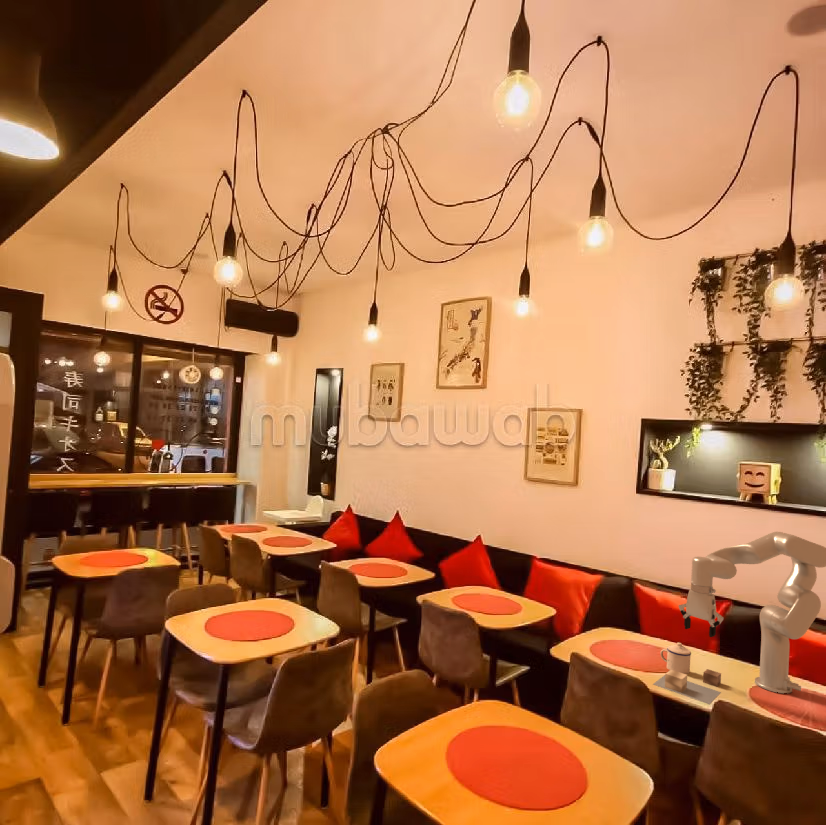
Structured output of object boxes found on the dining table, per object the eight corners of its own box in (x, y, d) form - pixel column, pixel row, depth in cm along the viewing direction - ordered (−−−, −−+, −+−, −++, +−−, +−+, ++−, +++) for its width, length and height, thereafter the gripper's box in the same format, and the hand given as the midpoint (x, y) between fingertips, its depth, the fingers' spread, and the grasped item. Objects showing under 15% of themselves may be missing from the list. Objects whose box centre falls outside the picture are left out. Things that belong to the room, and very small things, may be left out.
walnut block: (720, 686, 221) (721, 673, 221) (716, 689, 217) (717, 676, 217) (706, 681, 224) (707, 669, 224) (702, 685, 221) (703, 672, 221)
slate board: (721, 694, 213) (721, 692, 213) (709, 707, 202) (709, 704, 202) (666, 676, 226) (666, 673, 226) (652, 686, 215) (652, 684, 215)
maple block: (686, 688, 214) (687, 674, 214) (681, 692, 210) (682, 679, 210) (670, 682, 218) (670, 669, 218) (664, 686, 214) (665, 673, 214)
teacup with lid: (693, 673, 232) (695, 644, 232) (684, 678, 226) (686, 649, 226) (664, 662, 241) (666, 635, 241) (655, 667, 235) (656, 639, 235)
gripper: (728, 593, 219) (726, 638, 218) (685, 582, 233) (683, 624, 232) (719, 596, 214) (717, 641, 214) (675, 584, 228) (673, 626, 228)
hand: (699, 632), depth 223 cm, fingers open, 9 cm apart
